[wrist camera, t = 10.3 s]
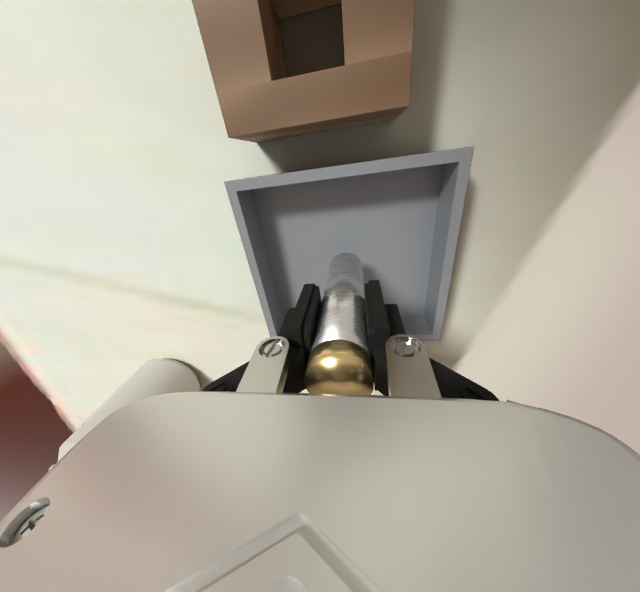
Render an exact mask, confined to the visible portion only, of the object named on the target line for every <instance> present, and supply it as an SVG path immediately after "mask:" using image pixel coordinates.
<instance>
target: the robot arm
mask: <svg viewBox="0 0 640 592" xmlns="http://www.w3.org/2000/svg"><path fill="white" fill-rule="evenodd" d="M364 297H365V311H366V323H367V335H368V347H369V353H370V356H371V364H372V375H373V383H374V385H375V390H378V391H379V392H381V393H382V394H383V395H384V396H379V395H346V394H310V393H301V391H303V390H304V389H306V387H305V383H304V378H305V373H306V369H307V364H308V360H309V355H310V351H311V347H312V342H313V338H314V333H315V329H316V324H317V320H318V315H319V311H320V306H321V295H320V288H319V286H316V285H315V283H313V284H304V286H303V289H302V291H301V294H300V296H299V299H298V301H297V304H296V307H295V308H290V309H289V311H288V313H287V315H286V318H285V320H284V322H283V325H282V327H281V329H280V332H279V334H278V336H274V337H270V338H267V339H265V340H263V341H262V342H261V343H259V344H258V346H257V347H256V349H255V351H254V353H253V356H252V358H251V360H250V361H249V362H247V363H245V364H244V365H242V366H240V367H238V368H237V369H235V370H233V371H231V372H230V373H228V374H226V375H224V376H223V377H221V378H219V379H217V380H215V381H214V382H212V383H211V384H209V385H208V386H206V387H205V388H204V389H203V390H202V392H198V391H197V392H176V393H166V394H161V395H156V396H151V397H148V398H144V399H141V400H138V401H135V402H132V403H130V404H127V405H125V406H123V407H121V408H118V409H117V410H115V411H113V412H112V413H110V414H109V415H108V416H107V417H105V418H104V419H103V420H102V421H100V422H99V423H98V424H97V425H96V426H95V427H94V428H93V429H91V430H90V431H89V432H88V433H87V434H86V435H85V436H84V437H83V438H82V439H81V440H80V441H79V442H78V443H77V444H75V445H74V446H73V447H72V448H71V449H70V450H69V451H68V452H67V453H66V454H65V455H64V456H63V457H62V458H61V459H60V460H59V461H58V462H57V463H56V464H55V465H54V466H53V467H52V468H51V469H50V470H49V472H48V473H47V474H46V475H45V476H44V477H43V478H42V479H41V480H40V481H39V482H38V483H37V484H36V485H35V486H34V487H33V488H32V489H31V490H30V491H29V492H28V493H27V494H26V495H25V496H24V497H23V498H22V499H21V501H19V503H17V505H16V506H15V507H14V508H13V509H12V510H11V511H10V512H9V513H8V514H7V515H6V516H5V517H4V518H3V519H2V521H1V522H0V592H640V455H638V453H636V452H635V451H634V450H632V449H631V448H630V447H628V446H627V445H626V444H624V443H623V442H621V441H620V440H618V439H617V438H615V437H614V436H612V435H610V434H608V433H606V432H605V431H603V430H601V429H599V428H597V427H594V426H592V425H590V424H587V423H585V422H583V421H580V420H577V419H575V418H572V417H569V416H566V415H562V414H559V413H556V412H552V411H549V410H546V409H541V408H536V407H532V406H527V405H523V404H519V403H516V402H512V401H510V400H507V402H501V401H499V400H498V399H497V397H496V396H495V395H494V394H493V393H491V392H490V391H488V390H487V389H485V388H483V387H482V386H480V385H478V384H476V383H474V382H473V381H471V380H469V379H467V378H465V377H464V376H462V375H460V374H458V373H456V372H454V371H453V370H451V369H449V368H447V367H445V366H444V365H442V364H440V363H438V362H436V361H434V360H433V359H431V358H429V357H428V354H427V351H426V348H425V346H424V344H423V342H422V341H420V340H419V339H418V338H416V337H414V336H411V335H406V332H405V329H404V326H403V322H402V319H401V316H400V313H399V309H398V306H397V304H384V300H383V296H382V291H381V286H380V282H379V280H368V283H364Z"/></svg>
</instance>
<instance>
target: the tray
mask: <svg viewBox="0 0 640 592" xmlns="http://www.w3.org/2000/svg"><path fill="white" fill-rule="evenodd" d="M473 150H474V147H465V148H456V149H449V150H441V151H434V152H427V153H420V154H413V155H406V156H399V157H392V158H385V159H378V160H371V161H364V162H357V163H350V164H343V165H336V166H329V167H322V168H315V169H308V170H301V171H294V172H287V173H280V174H273V175H266V176H259V177H252V178H244V179H239V180H233V181H227V182H224V183H225V186H226V190H227V193H228V196H229V200H230V203H231V206H232V210H233V213H234V216H235V220H236V223H237V226H238V230H239V233H240V236H241V240H242V243H243V247H244V250H245V253H246V257H247V260H248V263H249V267H250V270H251V273H252V277H253V280H254V283H255V287H256V290H257V293H258V297H259V300H260V303H261V307H262V310H263V313H264V317H265V320H266V323H267V327H268V330H269V333H270V337H274V336H278V334H279V332H280V329H281V327H282V325H283V322H284V320H285V318H286V315H287V313H288V311H289V309H290V308H295V307H296V304H297V301H298V299H299V296H300V294H301V291H302V289H303V286H304V284H313V283H315V285H316V286H319V288H320V295H321V301H322V297H323V292H324V288H325V283H326V279H327V274H328V270H329V265H330V262H331V260H332V259H333V258H334V257H335V256H336V255H338V254H341V253H351V254H354V255H356V256H357V257H358V258H359V259H360V260H361V262H362V266H363V276H364V283H368V280H379V282H380V286H381V291H382V296H383V300H384V304H397V306H398V309H399V313H400V316H401V319H402V322H403V326H404V329H405V332H406V335H411V336H414V337H416V338H418V339H419V340H420V341H440V337H441V331H442V326H443V320H444V314H445V309H446V303H447V297H448V292H449V286H450V280H451V275H452V269H453V263H454V258H455V252H456V246H457V241H458V235H459V229H460V224H461V218H462V212H463V207H464V201H465V195H466V190H467V184H468V178H469V173H470V167H471V161H472V156H473Z"/></svg>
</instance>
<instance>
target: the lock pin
mask: <svg viewBox="0 0 640 592" xmlns="http://www.w3.org/2000/svg"><path fill="white" fill-rule="evenodd" d="M304 383H305V387H306V389H307V391H308V392H309V393H310V394H346V395H371V393H372V391H373V375H372V364H371V356H370V353H369V347H368V335H367V323H366V311H365V297H364V276H363V266H362V262H361V260H360V259H359V258H358V257H357V256H356V255H354V254H351V253H341V254H338V255H336V256H335V257H334V258H333V259H332V260H331V262H330V265H329V270H328V274H327V279H326V283H325V288H324V292H323V297H322V301H321V306H320V311H319V315H318V320H317V324H316V329H315V333H314V338H313V342H312V347H311V351H310V355H309V360H308V364H307V369H306V373H305V378H304Z"/></svg>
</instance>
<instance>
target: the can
mask: <svg viewBox="0 0 640 592" xmlns="http://www.w3.org/2000/svg"><path fill="white" fill-rule="evenodd" d="M197 391H198V392H200V384H199V381H198V377H197V375H196V374H195V372H194V371H193V370H192V369H191V368H190V367H188V366H187V365H185V364H184V363H182V362H179V361H177V360H173V359H153V360H150V361H147V362H146V363H145V364H144V365H143V366H142V367H141V368H140V369H139V370H138V371H137V372H136V373H135V374H134V375H133V376H132V377H131V378H129V379H128V380H127V381H126V382H125V383H124V384H123V385H122V386H121V387H120V388H119V389H118V390H117V391H116V392H115V393H114V394H113V395H112V396H111V397H110V398H109V399H108V400H107V401H106V402H105V403H104V404H103V405H102V406H101V407H100V408H99V409H98V410H97V411H96V412H95V413H94V414H93V415H92V416H91V417H90V418H89V419H88V420H87V421H86V422H85V423H83V424H82V425H81V426H80V427H79V428H78V429H77V430H76V431H75V432H74V433H73V434H72V435H71V436H70V437H69V438H68V439H67V440H66V441H65V442H64V443H63V444H62V445H61V447H60V448H59V456H58V461H59V460H60V459H61V458H62V457H63V456H64V455H65V454H66V453H67V452H68V451H69V450H70V449H71V448H72V447H73V446H74V445H75V444H77V443H78V442H79V441H80V440H81V439H82V438H83V437H84V436H85V435H86V434H87V433H88V432H89V431H90V430H91V429H93V428H94V427H95V426H96V425H97V424H98V423H99V422H100V421H102V420H103V419H104V418H105V417H107V416H108V415H109V414H110V413H112V412H113V411H115V410H117V409H118V408H121V407H123V406H125V405H127V404H130V403H132V402H135V401H138V400H141V399H144V398H148V397H151V396H156V395H161V394H166V393H176V392H197ZM53 466H54V465H52V466H51V467H50V469H51V468H52V467H53ZM50 469H49V470H50Z"/></svg>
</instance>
